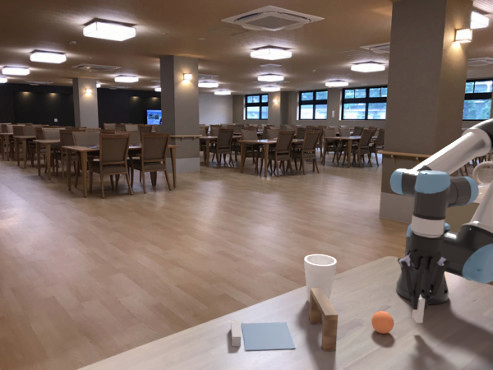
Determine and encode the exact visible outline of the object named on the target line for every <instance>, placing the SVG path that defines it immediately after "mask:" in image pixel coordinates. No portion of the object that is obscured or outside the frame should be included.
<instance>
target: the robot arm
mask: <svg viewBox="0 0 493 370" xmlns="http://www.w3.org/2000/svg"><path fill="white" fill-rule="evenodd" d="M490 153H493V117H492V118H488V119H486V120H483V121H480V122H478V123H476V124H474V125H473V126H471V127H469V128H467V129H466V130H464V132H463V133H462V134H461V136H460V137H459V138H458V139H456V140H454V141H453V142H452V143H450V144H448V145H446V146H445V147H444V148H442V149H440V150H439V151H437V152H435V153H434V154H432V155H430V156H429V157H428V158H426V159H425V160H423V161H421V162H420V163H418V164H416V165H415V166H413V167H411V168H410V169H408V168H397V169H395V170H394V171H393V173H392V174H391V176H390V180H389V185H390V189H391V190H392V192H394V193H395V194H398V195H402V196H403V197H410V198H413V199H414V200H413V211H412V216H411V217H412V218H411V223H410V224H409V225H408V227H407V231H406V235H405V237H406V239H405V240H406V241H405V251H404V257H399V258H397V263H398V264H399V266H400V275H399V276H398V279H397V280H396V285H395V291H396V292H397V294H398V295H400V297H402V298H404V299H406V300H410V308H411V310H412V313H411V318H412V320H413V321H414V322H415V323H416V324H423V322H424V316H425V315H424V313H425V310H427V309H428V305H441V304H444V303H446V302H447V301H449V293H450V292H449V288H448V283H447V279H446V276H445V275H446V274H445V272H447V273H450V274H453V275H455V276H458V277H461V278H463V279H465V280H467V281H470V282H471V281H472V282H475V283H477V284H489V283H491V282H493V179H492V181H491V182H490V184H489V186H488V187H487V190H486V191H485V193H484V195H483V197H482V199H481V201H480V203H479V205H478V206H477V209H476V210H475V213H474V214H473V216H472V218H471V220H470V221H469V222H467V223H463V224H461V226H460V228H459V229H458V231H457V232H455V231H452V230H451V226H450V224H449V223H447V222H446V217H447V209H448V208H455V207H464V206H467V205H469V204H472V203H474V202H475V201H476V200H477V199H478V197H479V194H480V191H479V185H478V183H477V182H476V181H475V180H474V178H471V177H470V176H461V175H457V176H452V175H451V174H453V173H454V172H456V171H457V170H459V169H460V168H463V166H464V165H466V164H468V163H469V162H470V161H472V160H473V159H475V158H477V157H483V156H486V155H487V154H490ZM450 175H451V176H450Z"/></svg>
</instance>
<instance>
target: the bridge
mask: <svg viewBox="0 0 493 370" xmlns="http://www.w3.org/2000/svg"><path fill="white" fill-rule="evenodd" d="M338 320H339V314H338V312H337V311H336V309H335V308H334V305H333V304H332V303H331V301H330V300H329V299H328V298H327V296H326V295H325V293H324V291H323V290H322V288H310V303H309V310H308V321H309V323H310V324H322V326H321V327H322V329H321V343H320V344H321V345H320V347H321V348H322V351H323V352H328V351H329V352H330V351H337V339H338V323H339V321H338Z"/></svg>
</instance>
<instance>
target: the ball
mask: <svg viewBox="0 0 493 370" xmlns="http://www.w3.org/2000/svg"><path fill="white" fill-rule="evenodd" d="M371 325H372V327H373V329H374V330H375V331H376V332H378V333H379V334H382V335H383V334H388V333H390V332H392V330H393V329H394V326H395V321H394V317H393V316H392V315H391V314H390V313H389V312H387V311H384V310H379V311H376V312H375V313H374V314H373V315H372V318H371Z"/></svg>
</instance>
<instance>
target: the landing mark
mask: <svg viewBox="0 0 493 370" xmlns="http://www.w3.org/2000/svg"><path fill="white" fill-rule="evenodd" d="M241 328H242V336H243V341H244V348H245V349H244V350H245V352H248V351H251V352H252V351H271V350H272V351H274V350H296V345H295V342H294V340H293V337H292V335H291V331H290V328H289V326H288V323H287V321H284V322H283V321H282V322H281V321H279V322H253V323H252V322H250V323H246V322H245V323H241Z"/></svg>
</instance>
